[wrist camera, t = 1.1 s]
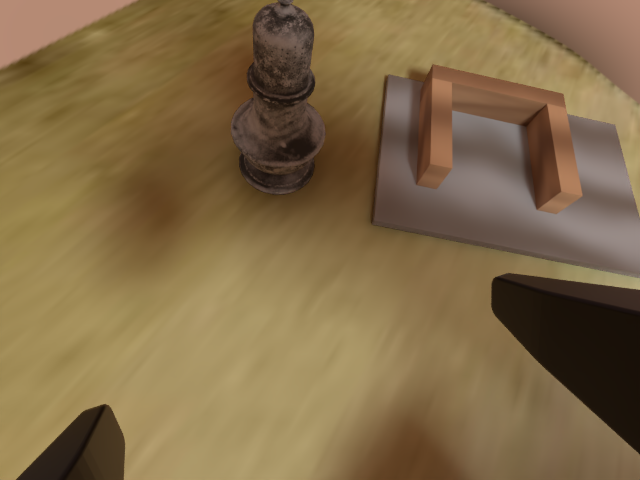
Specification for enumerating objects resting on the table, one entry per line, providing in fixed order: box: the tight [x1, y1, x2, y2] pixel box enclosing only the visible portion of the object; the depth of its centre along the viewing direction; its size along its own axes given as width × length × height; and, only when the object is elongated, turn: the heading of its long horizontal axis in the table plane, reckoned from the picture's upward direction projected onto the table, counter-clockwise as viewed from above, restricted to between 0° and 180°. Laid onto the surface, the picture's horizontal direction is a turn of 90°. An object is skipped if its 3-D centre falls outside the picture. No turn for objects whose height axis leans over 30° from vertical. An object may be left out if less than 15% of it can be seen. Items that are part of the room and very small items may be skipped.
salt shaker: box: [231, 0, 326, 194], centre depth 21 cm, size 6×6×12 cm
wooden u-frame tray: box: [372, 65, 640, 278], centre depth 28 cm, size 14×20×3 cm
